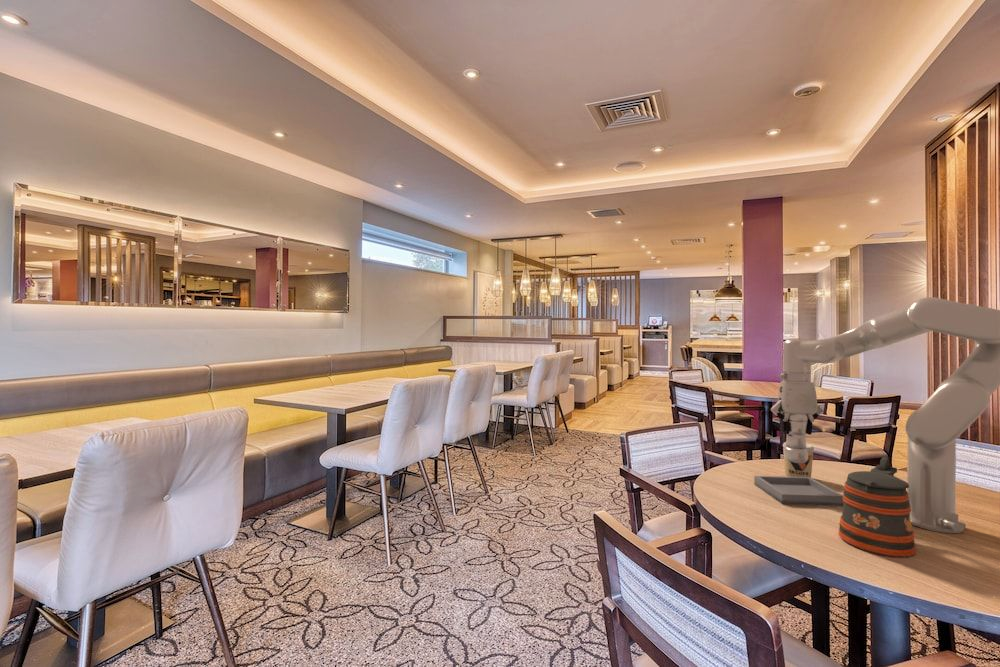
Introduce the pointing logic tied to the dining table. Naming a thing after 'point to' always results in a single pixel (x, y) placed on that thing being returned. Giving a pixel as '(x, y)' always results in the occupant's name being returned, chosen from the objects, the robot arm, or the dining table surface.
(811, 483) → the tray
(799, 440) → the plastic bottle
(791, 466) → the coffee cup
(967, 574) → the dining table surface
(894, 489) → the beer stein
